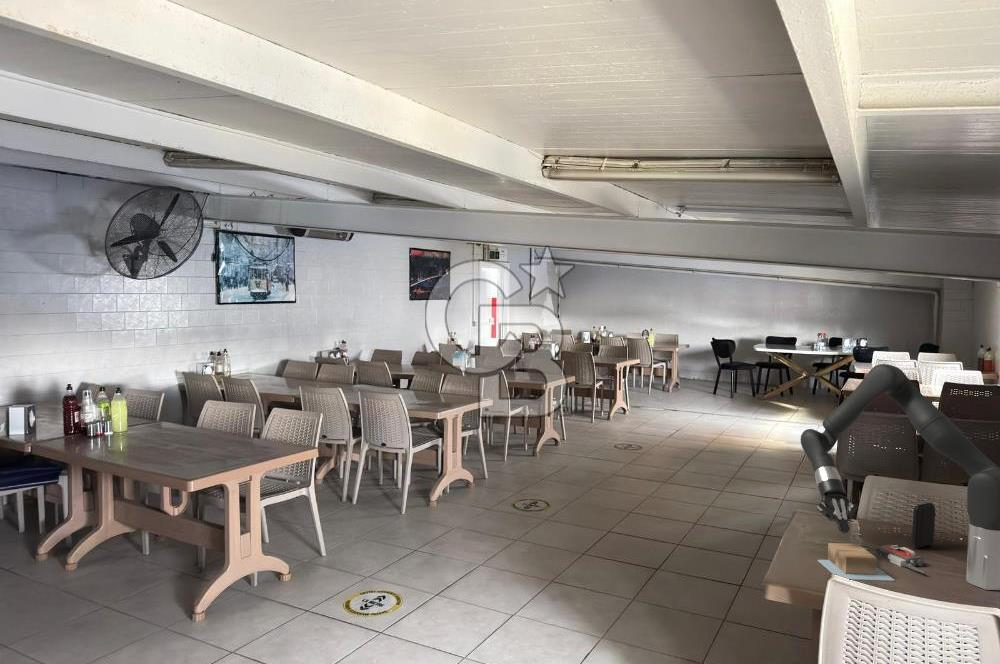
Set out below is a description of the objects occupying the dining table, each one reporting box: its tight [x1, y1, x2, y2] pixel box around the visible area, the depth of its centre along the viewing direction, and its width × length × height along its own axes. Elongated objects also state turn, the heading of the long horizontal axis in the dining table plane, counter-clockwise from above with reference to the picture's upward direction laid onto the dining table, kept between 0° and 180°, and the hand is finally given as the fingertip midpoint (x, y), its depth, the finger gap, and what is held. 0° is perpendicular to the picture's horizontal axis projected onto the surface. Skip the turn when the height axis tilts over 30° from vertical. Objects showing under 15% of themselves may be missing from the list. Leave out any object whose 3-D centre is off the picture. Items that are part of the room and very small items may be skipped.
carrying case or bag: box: [911, 502, 936, 549], centre depth 236 cm, size 11×3×15 cm, turn 118°
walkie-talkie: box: [875, 544, 926, 575], centre depth 220 cm, size 9×4×20 cm
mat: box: [817, 559, 896, 582], centre depth 213 cm, size 15×16×1 cm
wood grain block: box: [827, 542, 878, 574], centre depth 216 cm, size 5×9×12 cm
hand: (845, 532), depth 220 cm, fingers closed
